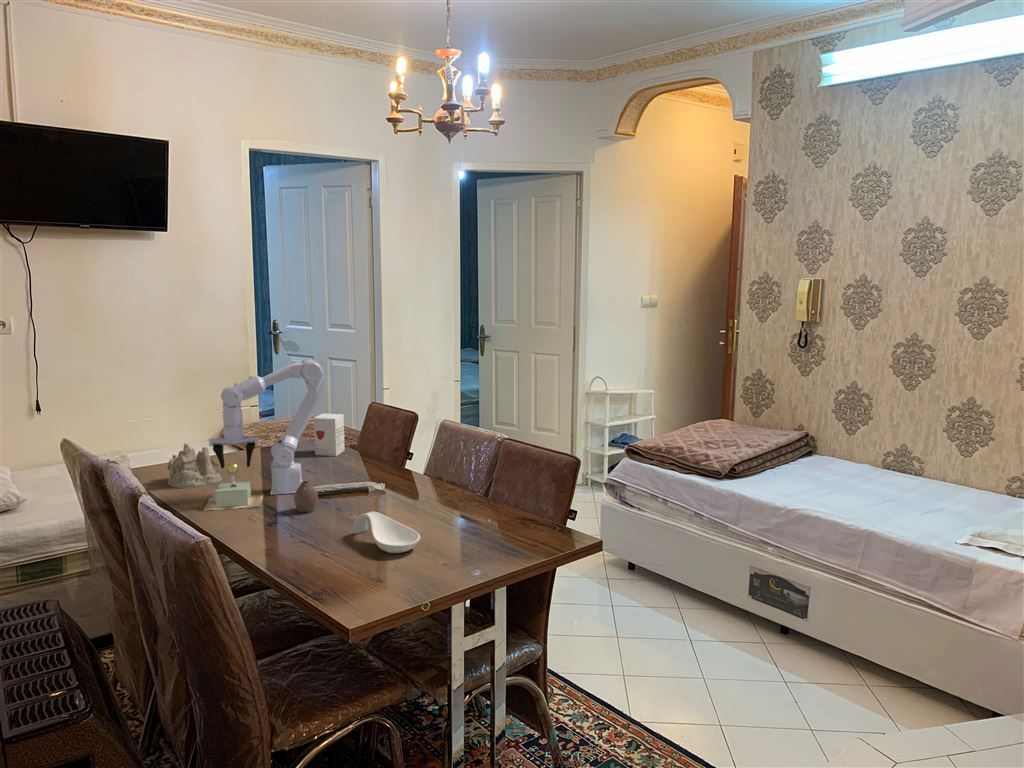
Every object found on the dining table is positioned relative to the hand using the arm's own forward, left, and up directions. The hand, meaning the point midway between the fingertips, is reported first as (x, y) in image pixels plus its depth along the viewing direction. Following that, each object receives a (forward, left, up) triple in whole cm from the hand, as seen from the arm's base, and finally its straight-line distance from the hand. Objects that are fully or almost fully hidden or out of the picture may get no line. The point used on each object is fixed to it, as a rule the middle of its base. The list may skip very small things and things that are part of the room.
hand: (235, 466), depth 235 cm
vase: (-22, +19, -10) cm, 31 cm away
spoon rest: (-43, +52, -10) cm, 68 cm away
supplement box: (-28, -51, -10) cm, 59 cm away
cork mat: (0, +7, -10) cm, 12 cm away
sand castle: (+16, -21, -10) cm, 29 cm away
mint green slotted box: (0, +7, -10) cm, 12 cm away
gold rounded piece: (0, +7, -6) cm, 9 cm away
